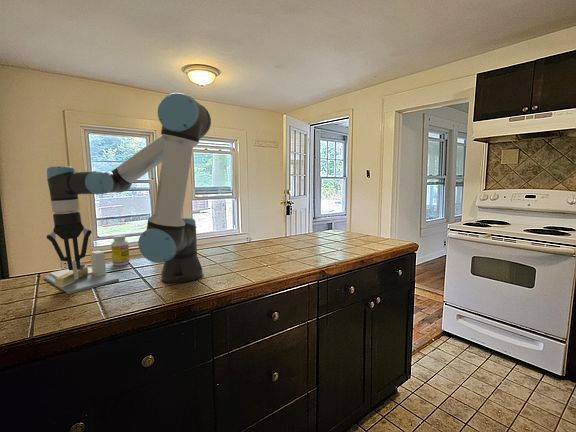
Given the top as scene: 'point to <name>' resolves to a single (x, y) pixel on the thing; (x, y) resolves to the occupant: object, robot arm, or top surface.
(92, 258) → the mounted latch plate
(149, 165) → the robot arm
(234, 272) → the top surface
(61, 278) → the bar
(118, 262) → the supplement bottle
